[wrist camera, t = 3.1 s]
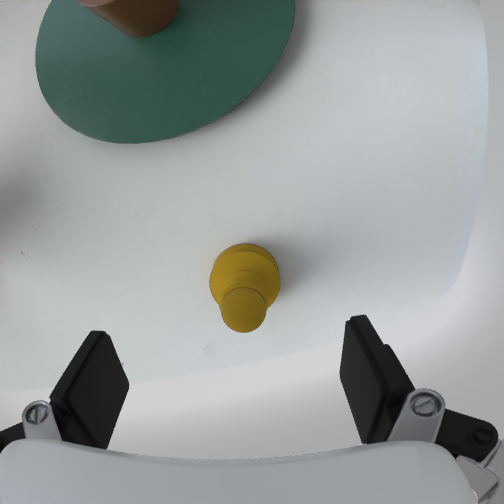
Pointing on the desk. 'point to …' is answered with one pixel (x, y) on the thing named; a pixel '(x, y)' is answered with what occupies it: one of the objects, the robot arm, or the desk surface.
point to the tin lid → (155, 62)
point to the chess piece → (244, 285)
